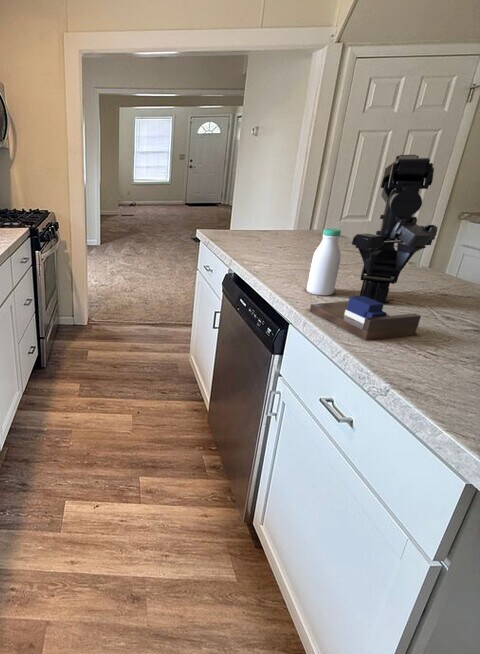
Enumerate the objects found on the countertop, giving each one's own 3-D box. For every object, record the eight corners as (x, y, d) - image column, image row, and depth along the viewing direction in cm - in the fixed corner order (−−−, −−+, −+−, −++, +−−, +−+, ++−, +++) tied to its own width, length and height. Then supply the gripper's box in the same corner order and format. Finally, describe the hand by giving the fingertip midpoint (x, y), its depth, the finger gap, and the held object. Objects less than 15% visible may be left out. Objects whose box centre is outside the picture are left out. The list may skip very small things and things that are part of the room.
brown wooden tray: (309, 310, 114) (312, 294, 112) (352, 306, 116) (356, 290, 114) (365, 339, 96) (370, 320, 94) (415, 334, 98) (421, 315, 96)
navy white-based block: (344, 314, 105) (348, 296, 103) (358, 313, 106) (363, 295, 104) (369, 327, 98) (375, 307, 96) (385, 325, 98) (390, 306, 96)
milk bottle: (338, 295, 125) (352, 231, 118) (313, 296, 125) (326, 231, 118) (325, 288, 132) (338, 227, 125) (301, 288, 133) (313, 227, 125)
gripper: (395, 217, 92) (378, 283, 97) (463, 214, 95) (442, 278, 100) (357, 211, 102) (344, 271, 108) (419, 208, 105) (403, 267, 111)
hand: (383, 272), depth 106 cm, fingers open, 9 cm apart
